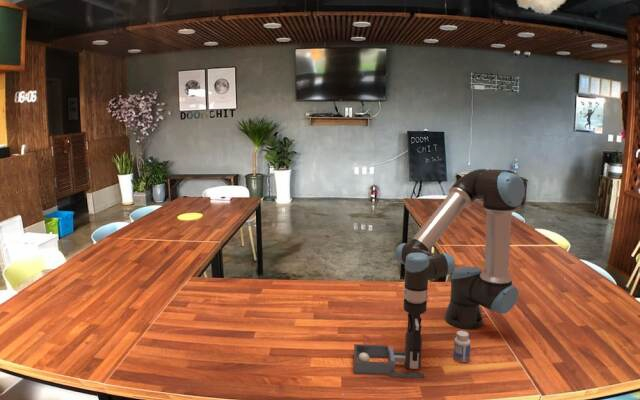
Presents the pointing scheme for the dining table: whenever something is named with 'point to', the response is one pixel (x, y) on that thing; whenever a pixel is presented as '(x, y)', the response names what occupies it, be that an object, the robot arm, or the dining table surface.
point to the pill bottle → (462, 347)
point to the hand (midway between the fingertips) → (412, 361)
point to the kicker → (405, 358)
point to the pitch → (378, 367)
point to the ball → (363, 357)
